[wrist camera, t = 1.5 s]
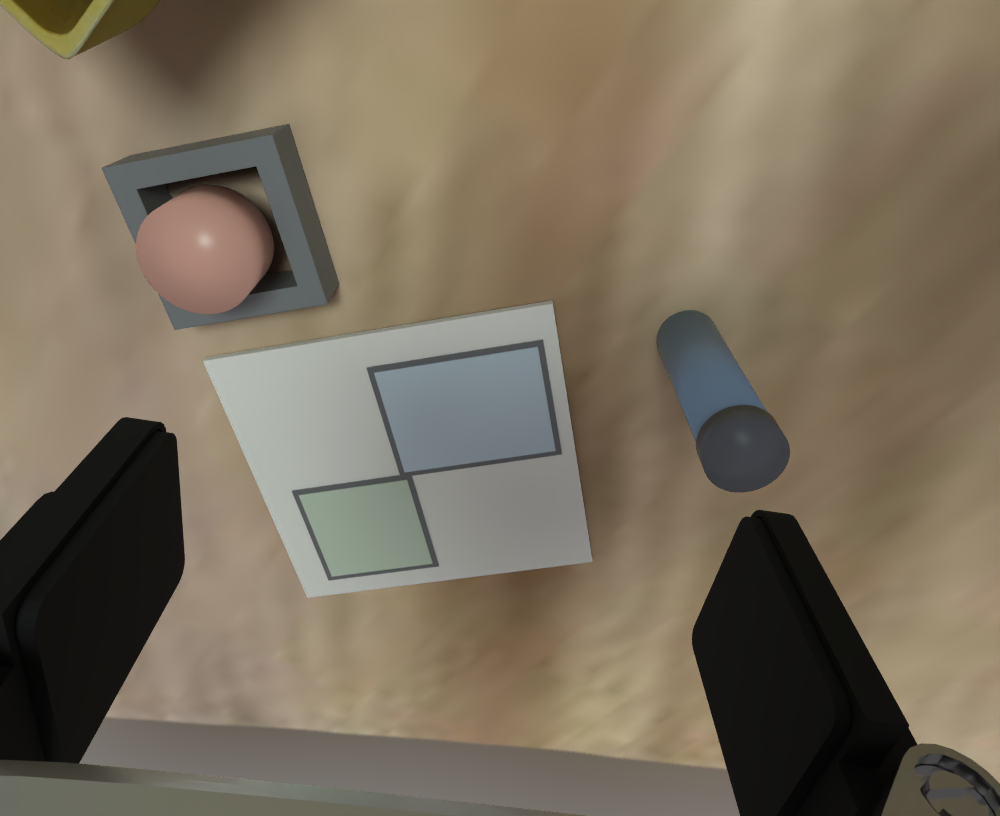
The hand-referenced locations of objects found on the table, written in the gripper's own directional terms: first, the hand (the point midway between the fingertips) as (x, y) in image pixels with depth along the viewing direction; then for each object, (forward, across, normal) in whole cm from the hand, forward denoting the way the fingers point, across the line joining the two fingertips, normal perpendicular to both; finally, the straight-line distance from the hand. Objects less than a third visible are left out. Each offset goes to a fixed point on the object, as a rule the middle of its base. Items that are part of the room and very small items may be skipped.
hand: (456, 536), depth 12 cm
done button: (+19, +11, +3) cm, 22 cm away
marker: (+22, -10, +5) cm, 25 cm away
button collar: (+22, +11, +3) cm, 24 cm away
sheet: (+22, +2, +14) cm, 26 cm away
